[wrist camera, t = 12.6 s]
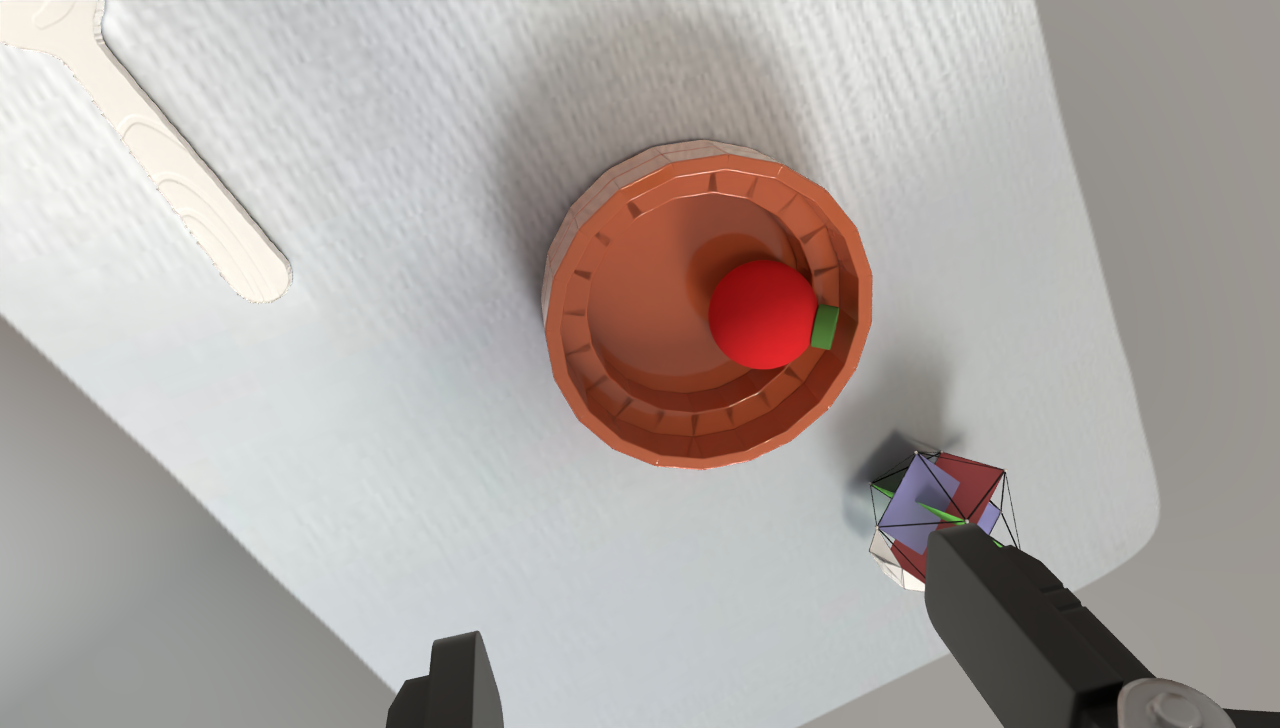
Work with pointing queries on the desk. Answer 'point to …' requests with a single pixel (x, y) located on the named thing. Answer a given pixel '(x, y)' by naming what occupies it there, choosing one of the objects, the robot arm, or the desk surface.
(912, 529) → the geometric puzzle
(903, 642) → the desk surface
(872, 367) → the desk surface
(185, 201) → the spoon
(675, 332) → the bowl
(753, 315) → the tomato
